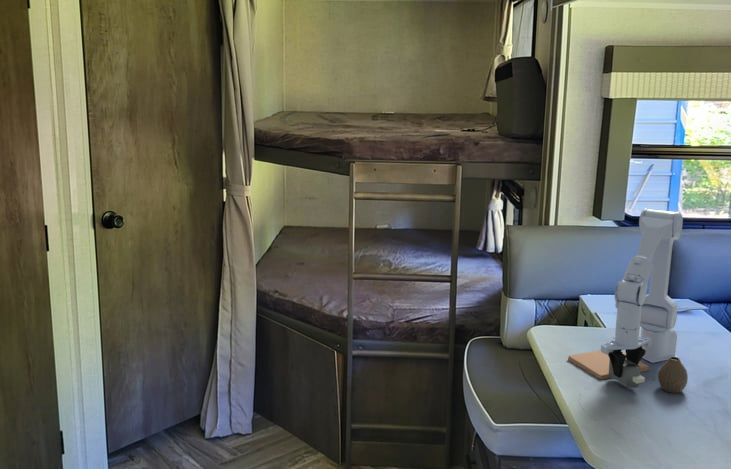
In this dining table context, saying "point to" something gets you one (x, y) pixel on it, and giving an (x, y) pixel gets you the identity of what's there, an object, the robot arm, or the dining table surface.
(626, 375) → the plug
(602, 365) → the mat
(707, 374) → the dining table surface
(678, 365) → the vase
